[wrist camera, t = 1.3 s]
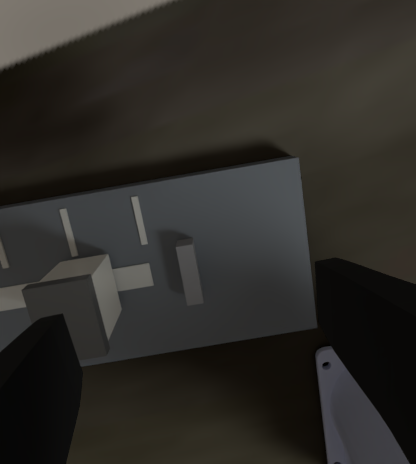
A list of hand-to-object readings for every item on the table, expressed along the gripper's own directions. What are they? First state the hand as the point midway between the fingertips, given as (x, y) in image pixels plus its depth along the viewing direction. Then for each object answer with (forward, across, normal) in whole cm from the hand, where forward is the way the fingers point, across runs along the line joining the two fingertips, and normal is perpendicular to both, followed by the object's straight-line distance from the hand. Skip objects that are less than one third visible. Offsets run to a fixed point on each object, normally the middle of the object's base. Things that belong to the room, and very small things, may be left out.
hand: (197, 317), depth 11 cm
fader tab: (+8, +5, +2) cm, 10 cm away
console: (+10, +5, +3) cm, 12 cm away
